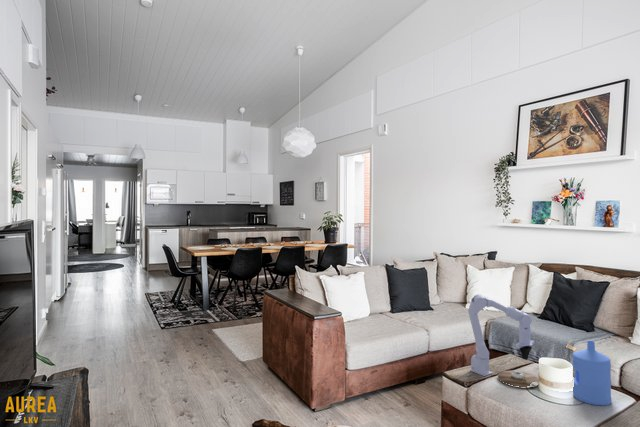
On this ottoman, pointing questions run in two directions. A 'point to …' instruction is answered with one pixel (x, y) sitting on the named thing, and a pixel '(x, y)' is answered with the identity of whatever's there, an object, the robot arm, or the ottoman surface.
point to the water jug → (592, 376)
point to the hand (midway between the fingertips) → (525, 359)
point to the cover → (517, 375)
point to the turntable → (526, 381)
